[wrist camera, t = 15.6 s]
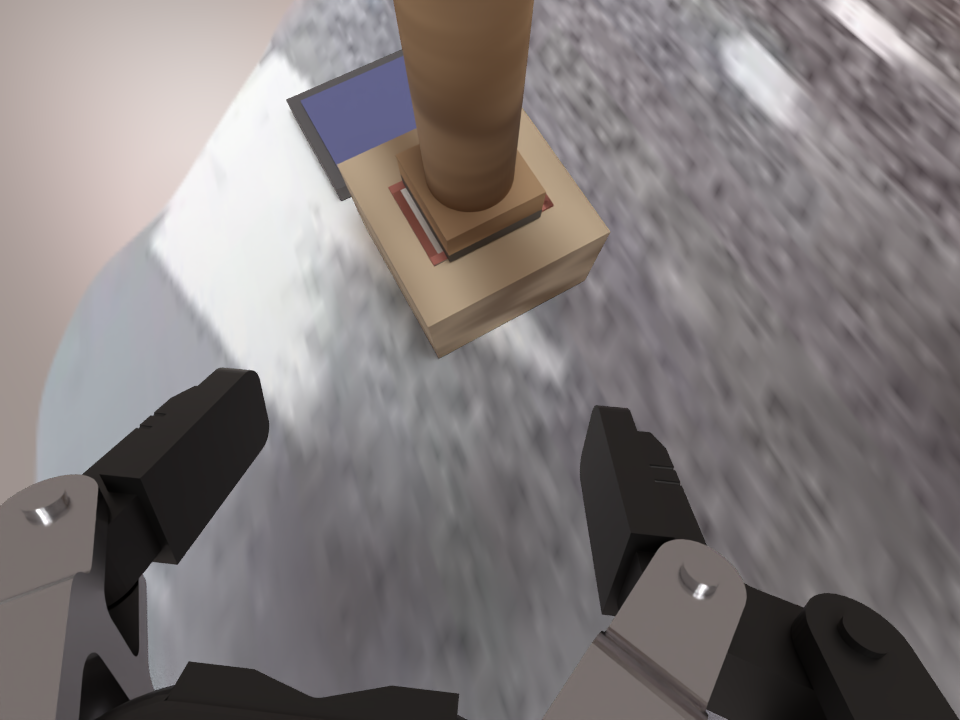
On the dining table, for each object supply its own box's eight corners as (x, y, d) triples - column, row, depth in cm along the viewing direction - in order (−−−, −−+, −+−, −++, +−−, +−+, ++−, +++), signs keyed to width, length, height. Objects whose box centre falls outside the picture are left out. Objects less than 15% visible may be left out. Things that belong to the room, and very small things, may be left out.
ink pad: (438, 49, 29) (436, 31, 27) (492, 129, 27) (493, 113, 26) (292, 113, 27) (284, 96, 26) (341, 201, 26) (334, 188, 25)
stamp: (489, 141, 21) (499, -182, 11) (540, 217, 20) (603, -60, 10) (402, 182, 20) (324, -117, 10) (449, 262, 19) (415, 20, 9)
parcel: (502, 157, 27) (507, 84, 22) (584, 280, 25) (610, 230, 20) (364, 224, 25) (336, 162, 20) (438, 358, 23) (427, 326, 18)
